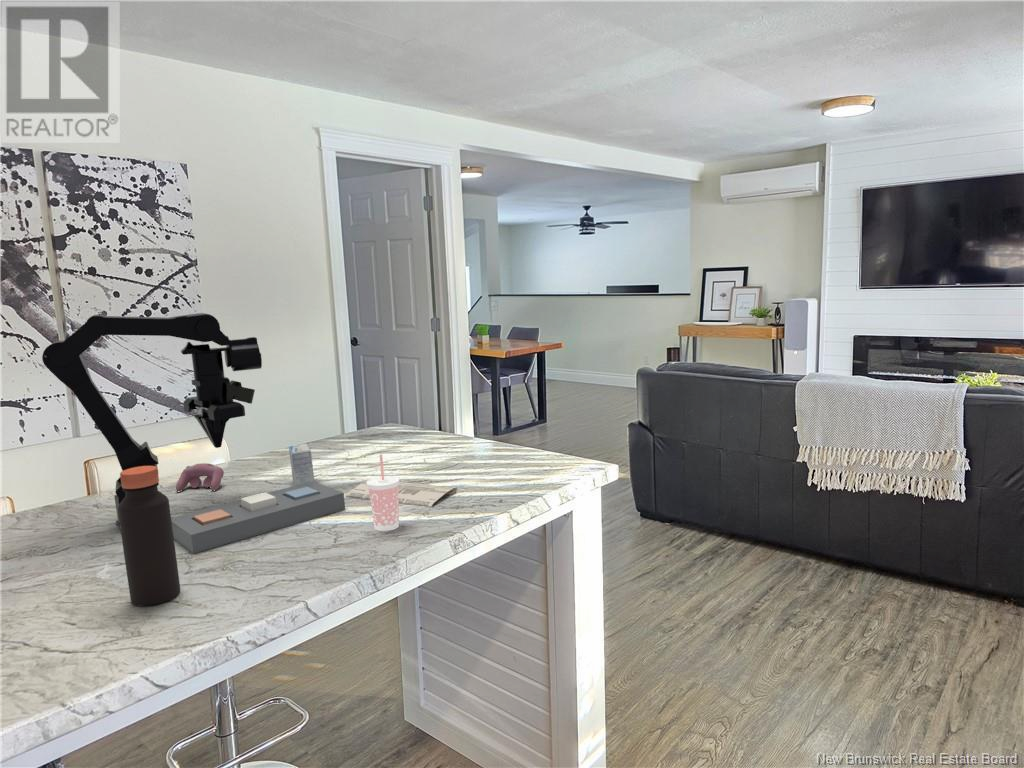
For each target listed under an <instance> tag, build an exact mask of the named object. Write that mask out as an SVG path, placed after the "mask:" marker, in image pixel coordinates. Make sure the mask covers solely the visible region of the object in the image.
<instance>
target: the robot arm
mask: <svg viewBox="0 0 1024 768" xmlns="http://www.w3.org/2000/svg"><path fill="white" fill-rule="evenodd" d="M103 336H149V337H150V336H153V337H154V336H157V337H161V336H162V337H164V336H165V337H173V338H177V339H178V338H179V339H184V340H189V341H187V342H186V345H185V346H184V347H183V348H182V349H181V350H180V353H181V354H182V355H184V356H185V355H191V358H192V359H191V361H192V368H193V375H194V376H193V378H194V379H191V385H193V386H195V394H196V396H191V397H190V396H189V397H186V399H185V400H183V402H182V404H183V411H184V412H186V413H192V411H193V410H197V414H195V415H193V417H194V418H195V420H196V421H197V422H198V424H199V425H200V426H201V428H202V430H203V431H204V433H205V434H206V436H207V437H208V439H209V440H210V442H211V444H212V446H213V447H214V448H215V449H219V448H222V444H223V439H224V434H225V429H226V424H227V422H229V420H230V419H235V418H240V417H245V416H246V409H245V405H243V404H242V403H240V402H243V403H246V404H250V405H251V404H253V400H254V396H255V391H256V389H253V388H250V387H249V388H248V387H244V386H243V385H242V382H241V381H237V380H230V378H229V377H225V369H224V362H223V352H224V360H225V365H226V368H231V370H232V372H239V371H251V370H261V369H262V365H263V364H262V363H263V361H262V353H261V352H260V347H259V344H258V338H257V337H255V336H252V337H246V338H237V339H229V336H228V335H225V334H224V332H222V330H221V327H220V322H219V321H218V319H217V318H216V317H215V316H214V315H212V314H210V313H209V314H208V313H204V312H198V313H190V314H184V315H177V316H170V317H169V316H167V317H165V316H164V317H159V316H158V317H156V316H155V317H154V316H147V317H146V316H121V315H120V316H119V315H118V316H117V315H115V316H114V315H103V314H93V315H92V316H89V317H88V319H87V320H86V322H84V323H83V324H82V325H81V326H80V327H79V328H77V330H75V331H74V332H73V333H72V334H70V335H69V336H68V337H67V338H66V339H65V340H57V341H54V342H52V343H51V344H50V345H48V346H47V347H46V348H45V349H44V350H43V353H42V355H41V358H42V363H43V365H44V366H45V368H46V369H48V371H50V373H52V374H53V375H54V377H56V378H57V380H59V381H60V382H61V383H62V384H64V386H66V387H67V388H69V390H71V391H72V392H73V394H74V395H75V397H76V399H78V401H79V403H80V404H81V405H82V407H83V409H85V412H86V413H87V414H88V416H89V417H90V419H92V421H93V422H94V424H95V425H96V426H97V428H98V429H99V431H100V432H101V434H102V436H103V437H104V438H105V440H106V441H107V442H108V444H109V445H110V447H111V448H112V449H113V452H114V453H115V456H116V458H117V461H118V464H119V465H120V468H121V472H122V471H124V470H126V469H130V468H134V467H139V466H156V467H157V470H158V471H159V469H158V465H159V459H158V458H159V457H158V456H157V455H156V454H154V453H153V452H152V451H151V448H150V445H149V442H147V441H144V442H143V443H142V444H139V443H138V442H137V441H136V440H135V439H134V438H133V437H132V436H131V434H130V433H129V431H128V430H127V428H126V427H125V426H124V424H123V422H122V421H121V420H120V419H119V417H118V416H117V414H116V413H115V411H114V410H113V408H112V407H111V406H110V404H109V402H108V401H107V399H106V398H105V396H104V395H103V394H102V392H101V391H100V389H99V388H98V387H97V385H96V384H95V382H94V381H93V379H92V377H91V374H90V371H89V369H88V366H87V364H86V361H85V359H84V356H83V353H84V352H85V351H86V350H87V349H89V348H90V347H91V346H92V345H93V344H94V343H95V342H97V341H98V340H99V339H100V338H102V337H103ZM191 341H195V342H200V343H204V344H192V342H191ZM208 342H209V343H210V342H213V343H215V344H216V345H218V346H221V347H212V348H211V347H210V344H209V343H208ZM223 346H225V347H223ZM235 400H236V401H235ZM237 401H238V402H237ZM113 496H114V501H115V502H114V503H115V509H116V517H117V520H116V521H115V524H116V525H117V526H119V527H120V523H119V516H118V505H119V504H120V503H121V502H122V500H123V499H124V498H125V496H126V495H125V491H123V488H122V485H121V478H120V477H119V478H118V479H117V480H116V481H115V495H113Z"/></svg>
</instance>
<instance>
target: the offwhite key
mask: <svg viewBox="0 0 1024 768" xmlns="http://www.w3.org/2000/svg"><path fill="white" fill-rule="evenodd" d="M268 493H269V492H266V491H264V492H261V493H257V494H253V495H248V496H246V497H242V498H240V500H241V507H242V508H243V509H245V510H247V511H249V512H253V511H257V510H261V509H264V508H268V507H272V506H276V505H277V503H276V497H274V496H272V495H270V494H268Z"/></svg>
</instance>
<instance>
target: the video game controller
mask: <svg viewBox="0 0 1024 768" xmlns="http://www.w3.org/2000/svg"><path fill="white" fill-rule="evenodd" d="M224 473H225V472H224V469H223V468H222V467H219V466H218V465H216V464H212V463H207V462H206V463H196V464H193V465H187V466H186V467H185V468H183V471H182V472H181V473H180V476H179V478H178V480H177V482H176V486H175V489H176V492H178V491H181V490H183V491H184V490H185V488H186V487H187V486H188V484H189V485H190V487H191V488H193V489H198V488H197V487H199V488H201V486H202V485H203V487H205V488H206V487H207V488H206V489H209V488H208V487H211V488H210V490H211V491H212V492H213V491H214V490H216V489H217V490H218V489H219V487H220V486H221V484H222V483H221V482H222V479H223V477H224ZM200 477H205V478H204V480H203V481H202V479H201V478H200ZM217 490H216V491H217ZM181 492H182V491H181ZM214 492H215V491H214ZM178 493H179V492H178Z"/></svg>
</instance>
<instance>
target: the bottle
mask: <svg viewBox="0 0 1024 768" xmlns="http://www.w3.org/2000/svg"><path fill="white" fill-rule="evenodd" d="M157 467H158V466H157ZM157 467H156V466H139V467H134V468H130V469H126V470H124V471H122V470H121V472H120V473H119V478H121V485H122V488H123V491H125V495H126V496H125V498H124V499H123V500H122V502H121V503H120V504H119V505H118V516H119V523H120V526H119V528H120V535H121V536H120V537H121V541H122V548H123V556H124V564H125V570H126V576H127V584H128V591H129V599H130V601H131V603H132V605H135V606H137V607H151V606H152V607H153V606H157V605H160V604H163V603H164V604H165V603H166V602H168V601H171V600H173V599H174V598H176V597H177V596H178V595H179V594H180V591H181V583H180V576H179V574H180V573H179V570H178V569H179V568H178V561H177V560H178V559H177V553H176V543H175V540H174V536H173V529H172V521H171V518H172V514H171V507H170V500H169V498H168V496H167V495H166V494H164V493H162V492H161V491H160V490H159V488H158V486H159V485H160V483H159V482H160V477H159V469H158V470H157Z"/></svg>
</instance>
